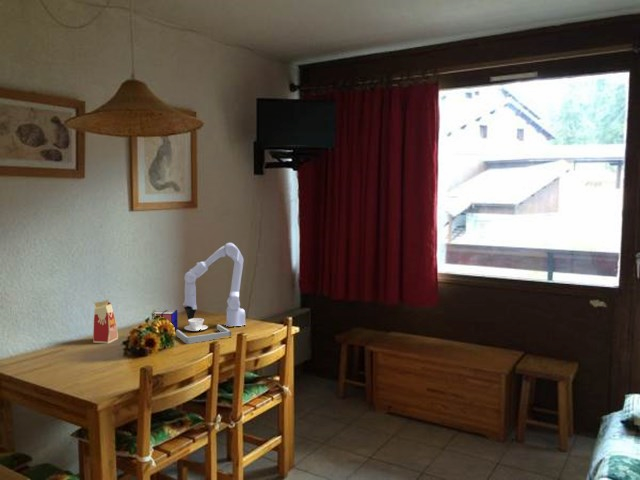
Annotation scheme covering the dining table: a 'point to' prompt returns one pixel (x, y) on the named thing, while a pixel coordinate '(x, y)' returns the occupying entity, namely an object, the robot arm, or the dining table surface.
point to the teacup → (196, 324)
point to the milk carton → (104, 323)
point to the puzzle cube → (168, 316)
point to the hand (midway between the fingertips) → (190, 320)
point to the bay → (205, 337)
